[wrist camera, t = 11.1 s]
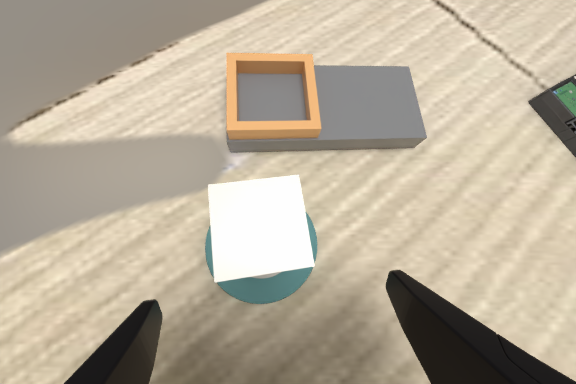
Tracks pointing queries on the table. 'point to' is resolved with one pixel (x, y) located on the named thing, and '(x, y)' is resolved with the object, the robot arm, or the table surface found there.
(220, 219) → the tall white square post
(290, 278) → the mat
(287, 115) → the framed tray with cover
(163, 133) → the table surface
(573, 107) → the disk drive
